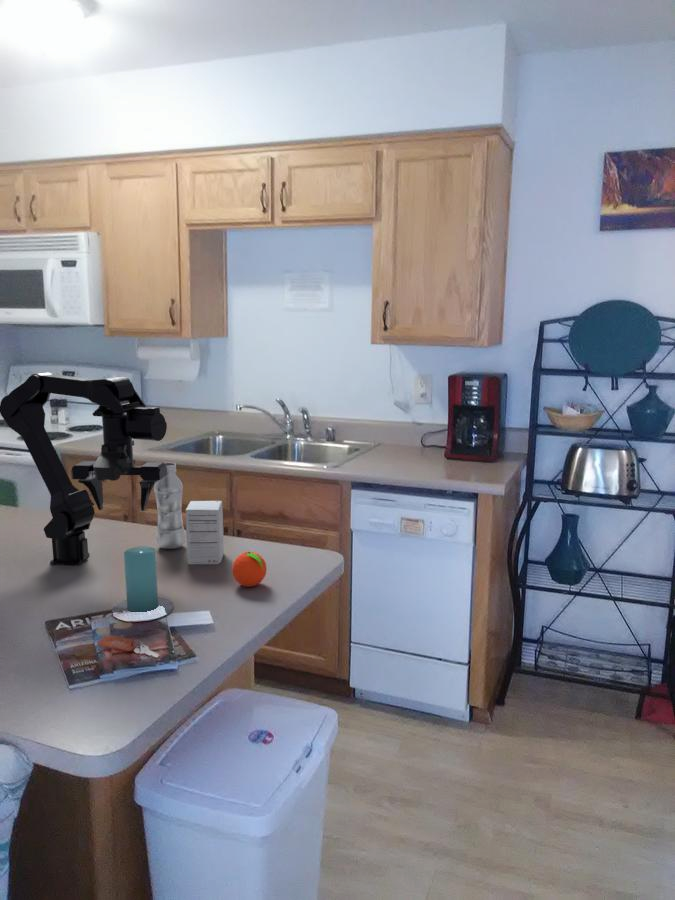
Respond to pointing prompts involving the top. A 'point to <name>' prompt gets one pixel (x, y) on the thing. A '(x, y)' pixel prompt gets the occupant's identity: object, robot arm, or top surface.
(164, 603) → the coaster
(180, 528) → the plastic bottle
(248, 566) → the clementine
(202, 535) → the supplement box
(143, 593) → the cylinder
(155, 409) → the robot arm
